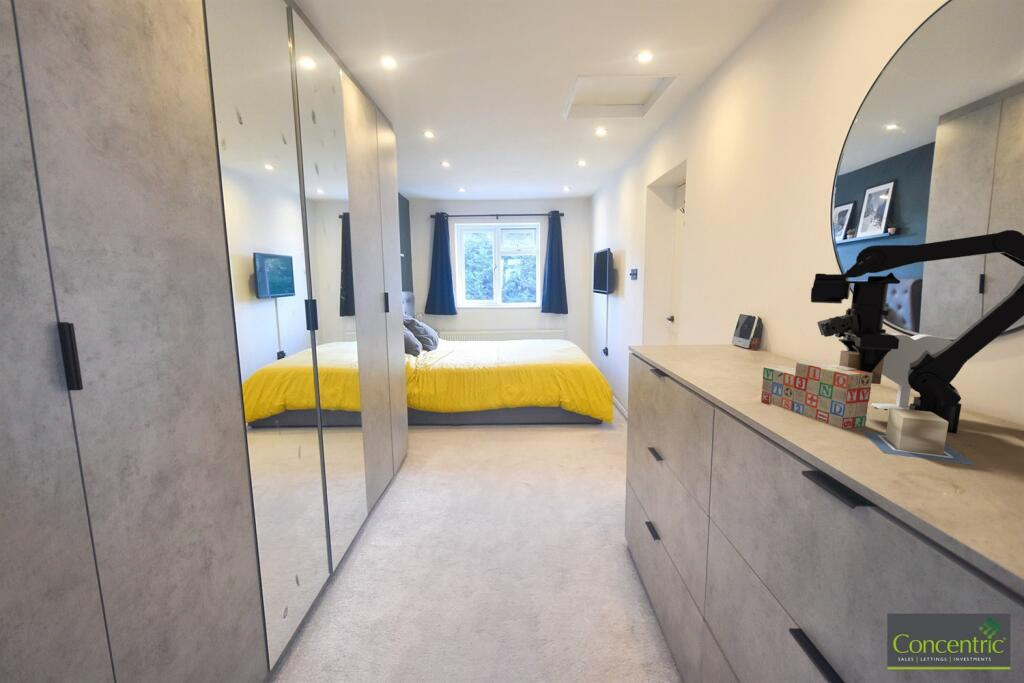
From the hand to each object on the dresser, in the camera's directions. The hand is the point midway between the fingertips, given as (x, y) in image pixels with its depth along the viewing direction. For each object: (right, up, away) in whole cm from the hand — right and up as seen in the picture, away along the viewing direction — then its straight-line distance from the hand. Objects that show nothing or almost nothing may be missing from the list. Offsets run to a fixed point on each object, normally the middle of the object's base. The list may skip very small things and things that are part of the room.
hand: (859, 374), depth 94 cm
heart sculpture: (+16, -9, +7) cm, 19 cm away
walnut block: (0, -1, 0) cm, 1 cm away
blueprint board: (-4, -12, -17) cm, 22 cm away
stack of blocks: (-10, -10, +3) cm, 14 cm away
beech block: (-4, -12, -17) cm, 21 cm away
